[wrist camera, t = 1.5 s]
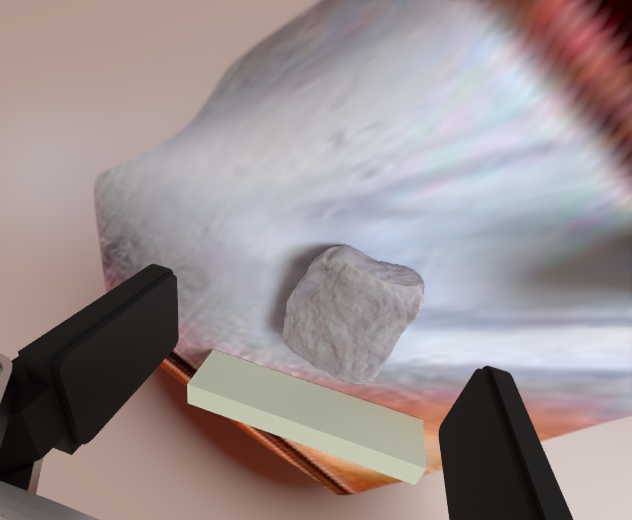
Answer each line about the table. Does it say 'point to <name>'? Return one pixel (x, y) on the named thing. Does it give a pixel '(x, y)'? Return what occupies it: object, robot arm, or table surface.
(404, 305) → the grey rock
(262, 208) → the table surface
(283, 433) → the board
